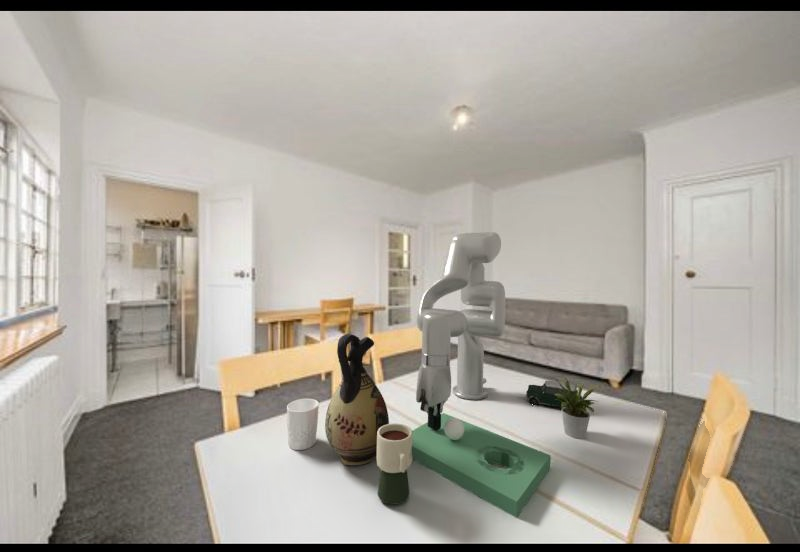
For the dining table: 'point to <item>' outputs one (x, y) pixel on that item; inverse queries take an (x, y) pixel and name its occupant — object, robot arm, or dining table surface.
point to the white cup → (302, 423)
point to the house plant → (575, 410)
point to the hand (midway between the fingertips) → (434, 427)
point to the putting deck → (482, 463)
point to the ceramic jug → (355, 406)
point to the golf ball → (454, 429)
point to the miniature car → (548, 393)
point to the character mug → (394, 462)
